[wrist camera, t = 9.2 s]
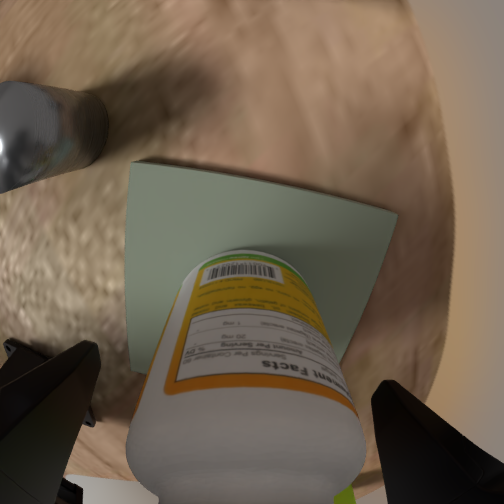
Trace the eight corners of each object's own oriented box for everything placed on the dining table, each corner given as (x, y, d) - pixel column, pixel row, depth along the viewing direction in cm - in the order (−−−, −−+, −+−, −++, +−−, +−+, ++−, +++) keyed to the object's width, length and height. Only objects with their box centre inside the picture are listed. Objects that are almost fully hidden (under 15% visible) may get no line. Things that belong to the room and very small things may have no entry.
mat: (319, 388, 14) (321, 396, 13) (134, 362, 13) (130, 370, 13) (391, 211, 10) (398, 215, 10) (136, 160, 9) (130, 162, 9)
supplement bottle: (242, 375, 13) (242, 578, 4) (151, 304, 11) (60, 538, 2) (337, 310, 11) (428, 539, 2) (249, 215, 10) (266, 592, 1)
